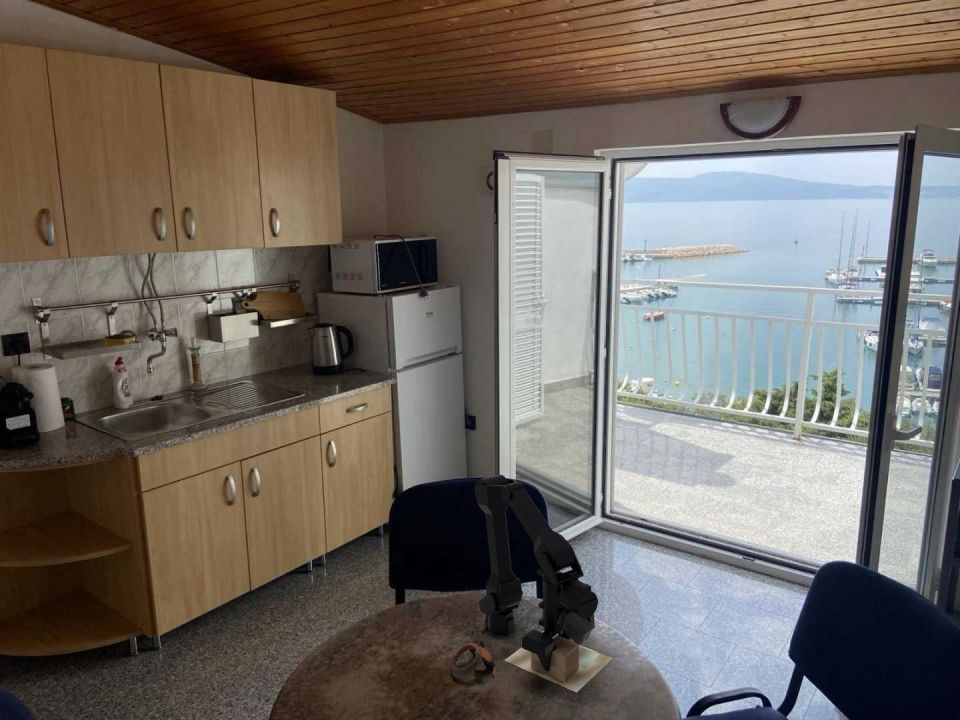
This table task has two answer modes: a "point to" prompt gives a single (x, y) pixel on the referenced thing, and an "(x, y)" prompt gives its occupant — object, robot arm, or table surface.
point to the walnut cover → (560, 659)
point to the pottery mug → (479, 656)
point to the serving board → (587, 669)
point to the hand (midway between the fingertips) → (554, 663)
